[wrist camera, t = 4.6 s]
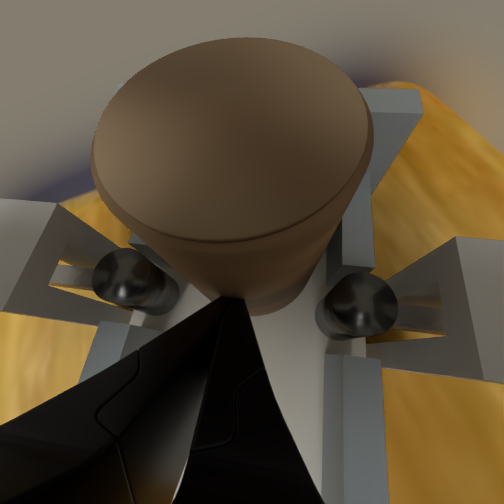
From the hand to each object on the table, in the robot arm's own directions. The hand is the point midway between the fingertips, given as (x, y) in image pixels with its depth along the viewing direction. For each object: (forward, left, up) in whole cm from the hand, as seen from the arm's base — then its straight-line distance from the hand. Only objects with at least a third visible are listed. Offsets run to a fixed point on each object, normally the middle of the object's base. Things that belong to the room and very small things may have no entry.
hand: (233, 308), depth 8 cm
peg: (+3, +1, -4) cm, 5 cm away
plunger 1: (-1, +7, -3) cm, 7 cm away
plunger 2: (+2, -6, -3) cm, 7 cm away
